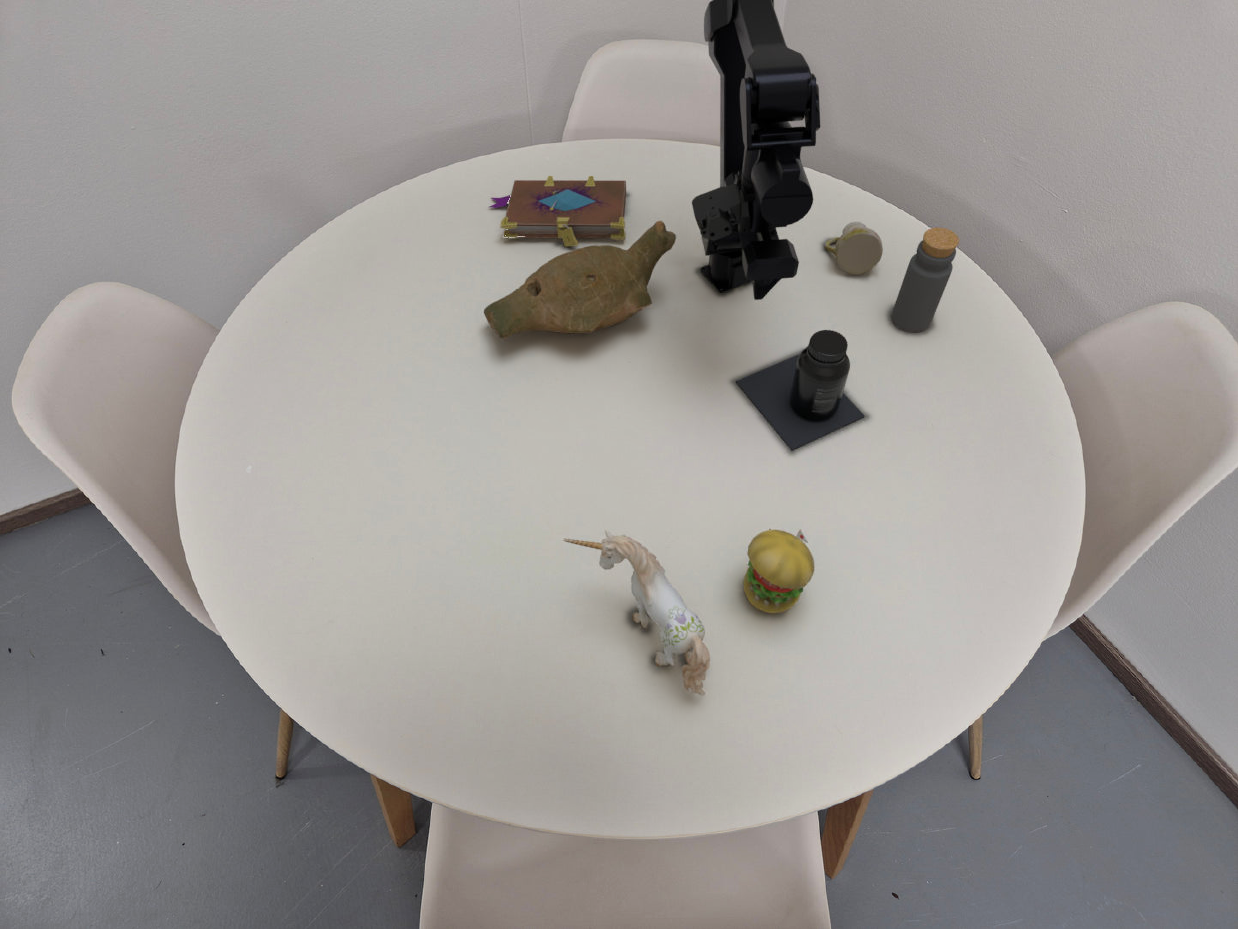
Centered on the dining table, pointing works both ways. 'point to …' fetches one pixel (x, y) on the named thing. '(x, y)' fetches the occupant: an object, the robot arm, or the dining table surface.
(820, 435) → the mat
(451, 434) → the dining table surface
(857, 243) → the mug
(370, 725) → the dining table surface
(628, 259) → the sculpture
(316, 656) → the dining table surface
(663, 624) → the unicorn figurine
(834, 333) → the supplement bottle
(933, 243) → the bottle
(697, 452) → the dining table surface
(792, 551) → the hamburger
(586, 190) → the book
